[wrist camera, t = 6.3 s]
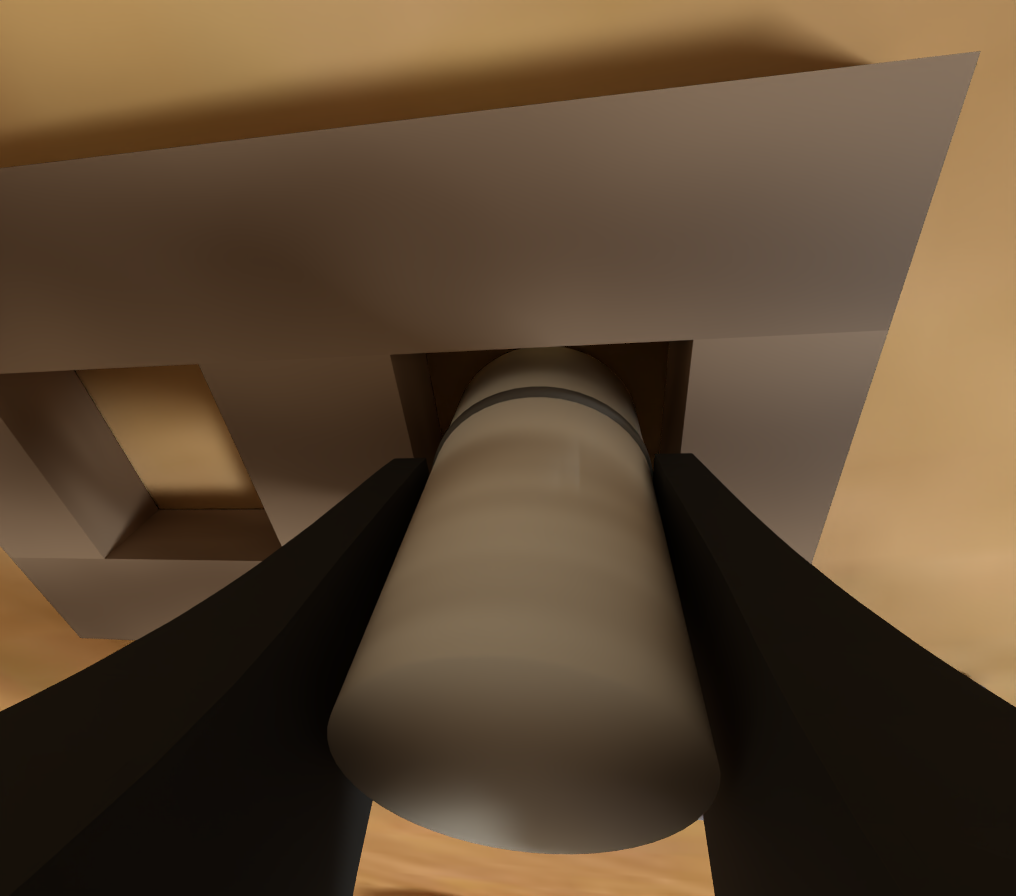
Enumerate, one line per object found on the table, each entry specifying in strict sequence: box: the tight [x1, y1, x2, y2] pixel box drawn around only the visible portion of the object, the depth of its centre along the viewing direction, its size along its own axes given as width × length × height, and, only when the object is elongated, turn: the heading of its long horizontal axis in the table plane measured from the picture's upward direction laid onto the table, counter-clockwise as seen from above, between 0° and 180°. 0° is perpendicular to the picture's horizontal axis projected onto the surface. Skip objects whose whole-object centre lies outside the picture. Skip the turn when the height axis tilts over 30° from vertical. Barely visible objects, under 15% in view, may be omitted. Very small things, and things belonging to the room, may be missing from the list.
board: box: [0, 51, 980, 640], centre depth 11 cm, size 12×20×2 cm, turn 95°
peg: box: [327, 346, 721, 854], centre depth 8 cm, size 4×4×7 cm
